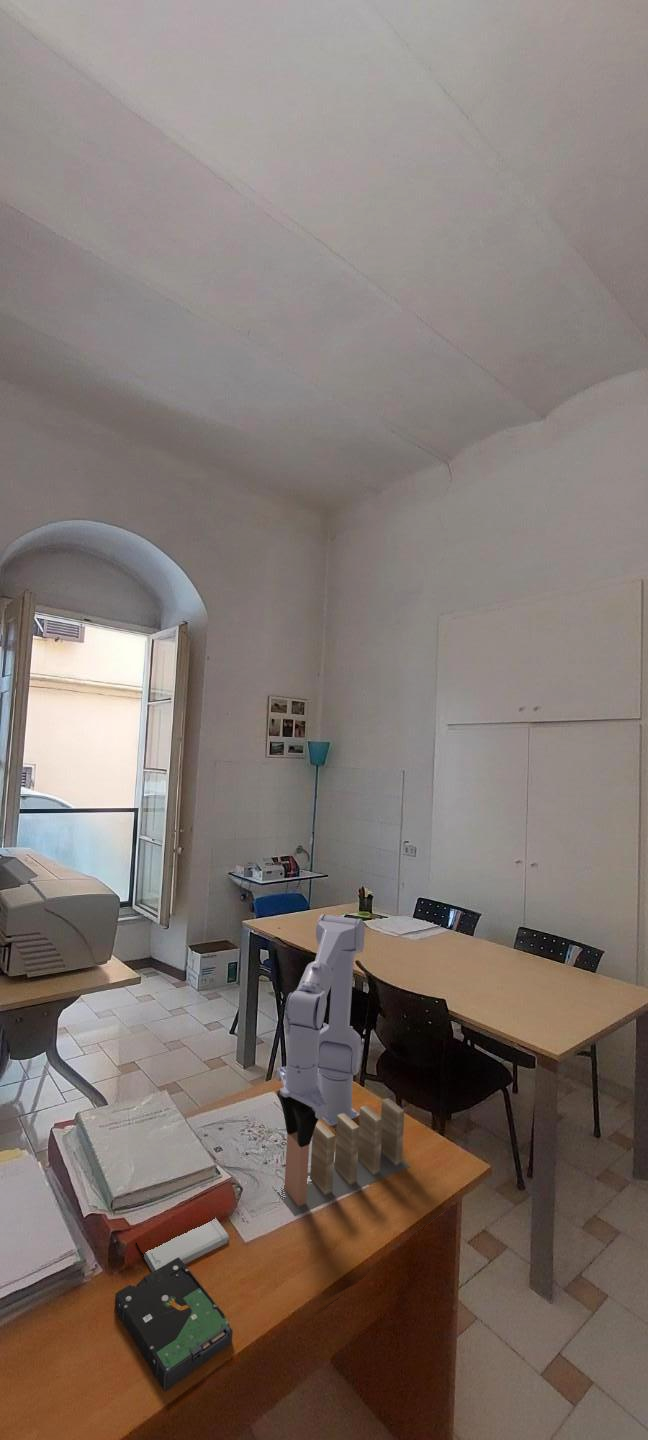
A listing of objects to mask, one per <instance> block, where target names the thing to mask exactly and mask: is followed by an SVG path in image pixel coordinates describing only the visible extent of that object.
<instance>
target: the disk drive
mask: <svg viewBox="0 0 648 1440" xmlns="http://www.w3.org/2000/svg"><path fill="white" fill-rule="evenodd" d="M114 1312H115V1313H116V1314H117V1317H118V1319H119V1321H120V1322H121V1323H122V1324H123V1327H124V1328H125V1330H126V1332H128V1334H129V1336H130V1337H131V1339H132V1341H133V1342H134V1343H135V1346H136V1347H137V1349H138V1351H139V1352H140V1354H141V1355H142V1358H143V1359H144V1360H145V1362H146V1364H147V1365H148V1367H149V1369H150V1371H151V1373H152V1375H153V1376H154V1378H155V1379H156V1380H157V1382H158V1384H159V1386H160V1387H161V1389H162V1391H163V1392H167V1391H168V1390H169V1389H171V1388H172V1387H173V1386H175V1385H176V1384H177V1383H179V1382H180V1381H182V1380H183V1379H185V1378H186V1377H187V1376H188V1375H190V1374H191V1373H193V1372H194V1371H195V1370H197V1369H198V1368H199V1367H201V1366H202V1365H203V1364H205V1363H206V1362H208V1361H209V1360H211V1359H212V1358H213V1357H215V1356H216V1355H218V1354H219V1353H220V1352H221V1351H223V1350H225V1348H227V1347H228V1346H231V1344H232V1343H233V1329H232V1327H231V1326H230V1321H229V1320H228V1319H227V1318H226V1315H225V1313H224V1312H223V1310H222V1309H220V1308H219V1306H218V1305H217V1304H216V1302H215V1301H214V1300H213V1299H212V1297H211V1296H210V1295H209V1293H208V1292H207V1291H206V1289H205V1288H204V1287H203V1286H202V1285H201V1283H200V1282H199V1281H198V1279H197V1278H196V1276H194V1274H193V1273H192V1272H191V1271H190V1269H189V1268H188V1267H187V1264H184V1263H183V1262H182V1260H181V1259H180V1258H179V1257H178V1258H176V1259H174V1260H173V1261H171V1262H169V1263H167V1264H166V1265H164V1266H162V1267H161V1268H159V1269H157V1270H155V1271H153V1272H152V1271H151V1272H150V1273H148V1274H146V1275H145V1276H143V1277H142V1279H141V1280H140V1281H139V1282H138V1283H137V1284H136V1285H131V1284H129V1285H127V1286H125V1287H124V1288H122V1289H120V1290H118V1291H117V1292H116V1293H115V1298H114Z"/></svg>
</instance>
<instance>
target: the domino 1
mask: <svg viewBox="0 0 648 1440" xmlns="http://www.w3.org/2000/svg"><path fill="white" fill-rule="evenodd" d="M285 1149H286V1151H285V1152H286V1153H285V1165H284V1166H285V1167H284V1169H285V1170H284V1182H285V1185H284V1189H285V1190H286V1192H287V1193H288V1194H289V1195H290V1197H291V1198H292V1199H293V1200H294V1202H295V1203H296V1204H297V1206H298V1207H299V1206H301V1205H304V1204H306V1197H307V1178H308V1173H309V1160H310V1159H309V1156H310V1155H309V1154H310V1144H309V1145H306V1146H303V1147H300V1146H299V1145H298V1138H297V1132H295V1133H292V1134H288V1133H286V1148H285Z"/></svg>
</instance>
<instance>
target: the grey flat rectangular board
mask: <svg viewBox="0 0 648 1440" xmlns="http://www.w3.org/2000/svg"><path fill="white" fill-rule="evenodd" d="M410 1167H411V1166H410V1165H409V1164H407V1163H406V1162H405V1160H403V1159H402V1163H401V1164H399V1165H396V1166H395V1165H394V1164H393V1163H392V1162H391V1161H390V1160H389V1159H388V1158H387V1157H385V1156H384V1155H383V1154H382V1153H381V1160H380V1173H377V1174H375V1175H373V1174H372V1173H371V1172H370V1171H369V1170H367V1169H366V1168H365V1167H364V1166H363V1165H362V1164H361V1163H360V1162H359V1161H358V1166H357V1182H356V1183H354V1184H351V1185H349V1184H348V1183H347V1182H346V1181H345V1180H344V1179H343V1177H342V1176H341V1175H340V1174H339V1173H338V1172H337V1171H336V1170H335V1169H333V1188H332V1193H330V1194H327V1195H324V1194H323V1193H322V1192H321V1190H320V1189H319V1188H318V1187H317V1186H316V1185H315V1184H314V1182H313V1181H312V1182H310V1183H312V1184H310V1185H309V1184H307V1197H306V1204H304V1205H301V1206H299V1207H298V1206H297V1204H296V1203H295V1202H294V1200H293V1199H292V1198H291V1197H290V1195H289V1194H288V1193H287V1192H286V1190H285V1189H283V1190H284V1191H283V1190H281V1191H282V1192H281V1193H282V1194H281V1195H283V1194H285V1195H283V1196H286V1197H283V1196H281V1195H280V1193H279V1192H277V1193H278V1194H277V1193H276V1194H277V1196H280V1197H279V1198H280V1199H281V1200H282V1202H283V1203H284V1204H285V1206H286V1207H287V1208H288V1209H289V1211H290V1213H292V1215H293V1216H294V1217H295V1216H296V1217H297V1216H298V1215H301V1214H303V1213H306V1212H307V1211H310V1210H312V1209H314V1208H317V1207H319V1206H322V1205H324V1204H326V1203H329V1202H331V1201H333V1200H336V1199H338V1198H340V1197H342V1196H346V1195H347V1194H349V1193H352V1192H354V1191H356V1190H359V1189H361V1188H363V1187H366V1186H368V1185H370V1184H373V1183H375V1182H378V1181H379V1180H382V1179H384V1178H387V1177H389V1176H392V1175H394V1174H396V1173H399V1172H401V1171H403V1170H406V1169H407V1168H410ZM334 1168H335V1162H334ZM308 1176H310V1171H308ZM281 1189H282V1188H281ZM273 1190H274V1191H275V1192H276V1191H277V1190H275V1189H273ZM283 1192H285V1193H283ZM281 1197H282V1198H281ZM283 1198H284V1199H283ZM283 1200H284V1201H283Z"/></svg>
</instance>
